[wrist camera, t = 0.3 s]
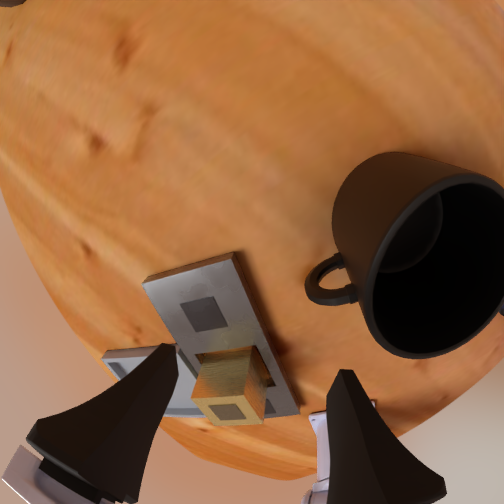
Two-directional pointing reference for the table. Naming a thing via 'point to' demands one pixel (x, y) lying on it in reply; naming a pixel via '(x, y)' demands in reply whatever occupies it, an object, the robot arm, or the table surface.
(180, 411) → the parts tray
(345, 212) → the mug
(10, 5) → the beer bottle
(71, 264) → the table surface
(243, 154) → the table surface
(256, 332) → the metal plate with cutout
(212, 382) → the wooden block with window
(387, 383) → the table surface
